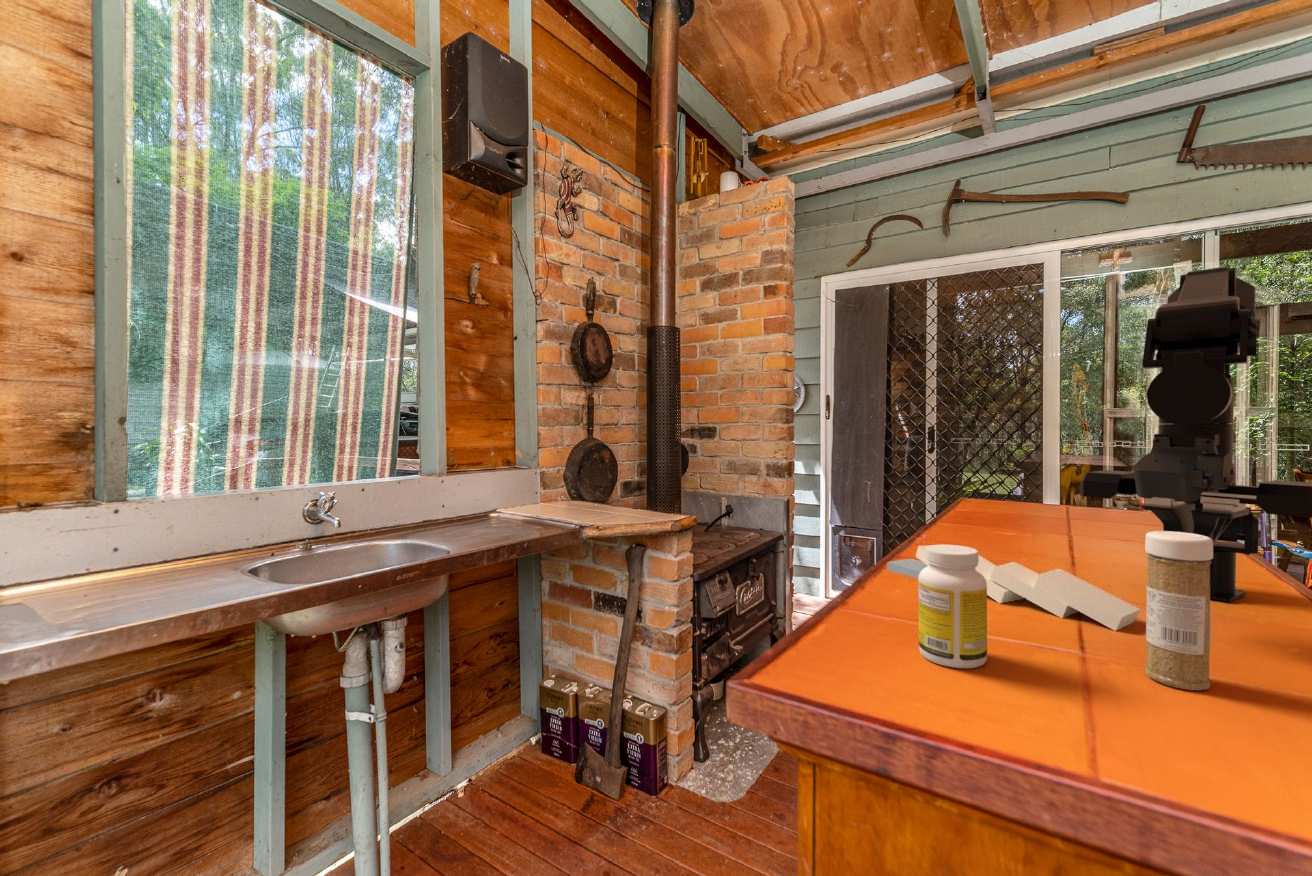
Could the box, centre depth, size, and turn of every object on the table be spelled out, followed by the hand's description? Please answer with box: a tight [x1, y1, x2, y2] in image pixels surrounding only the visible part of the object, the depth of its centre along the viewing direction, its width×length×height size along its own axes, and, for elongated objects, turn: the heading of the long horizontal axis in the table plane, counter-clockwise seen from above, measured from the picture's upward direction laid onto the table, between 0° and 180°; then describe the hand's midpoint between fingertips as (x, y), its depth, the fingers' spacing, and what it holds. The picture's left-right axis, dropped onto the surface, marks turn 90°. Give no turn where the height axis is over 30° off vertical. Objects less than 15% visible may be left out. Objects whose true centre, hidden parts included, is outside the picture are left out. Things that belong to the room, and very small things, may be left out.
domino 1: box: [886, 558, 928, 579], centre depth 89 cm, size 2×5×9 cm
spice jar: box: [1144, 530, 1213, 691], centre depth 53 cm, size 5×5×13 cm
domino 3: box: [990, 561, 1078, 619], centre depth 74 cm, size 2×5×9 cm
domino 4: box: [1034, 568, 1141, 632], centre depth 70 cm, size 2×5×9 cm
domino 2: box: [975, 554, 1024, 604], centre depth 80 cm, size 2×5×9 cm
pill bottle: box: [917, 544, 988, 669], centre depth 59 cm, size 6×6×11 cm
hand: (1192, 572), depth 61 cm, fingers closed
